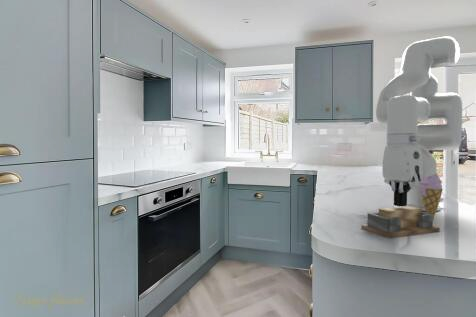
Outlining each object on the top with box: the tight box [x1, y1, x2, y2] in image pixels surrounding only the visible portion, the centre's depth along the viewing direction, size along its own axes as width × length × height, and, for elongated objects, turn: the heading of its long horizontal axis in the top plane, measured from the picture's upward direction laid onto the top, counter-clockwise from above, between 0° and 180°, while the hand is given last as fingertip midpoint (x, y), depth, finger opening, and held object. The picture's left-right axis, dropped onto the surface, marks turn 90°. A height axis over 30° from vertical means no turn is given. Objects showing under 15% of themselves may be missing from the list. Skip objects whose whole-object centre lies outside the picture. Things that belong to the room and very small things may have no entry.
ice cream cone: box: [419, 172, 443, 219], centre depth 98 cm, size 7×6×15 cm
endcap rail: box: [360, 211, 441, 239], centre depth 87 cm, size 18×10×4 cm, turn 110°
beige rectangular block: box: [378, 206, 422, 228], centre depth 87 cm, size 12×4×5 cm, turn 110°
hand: (400, 205), depth 87 cm, fingers closed
